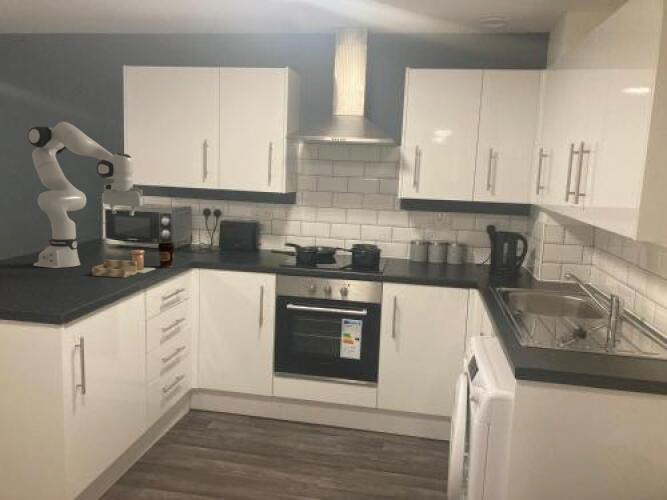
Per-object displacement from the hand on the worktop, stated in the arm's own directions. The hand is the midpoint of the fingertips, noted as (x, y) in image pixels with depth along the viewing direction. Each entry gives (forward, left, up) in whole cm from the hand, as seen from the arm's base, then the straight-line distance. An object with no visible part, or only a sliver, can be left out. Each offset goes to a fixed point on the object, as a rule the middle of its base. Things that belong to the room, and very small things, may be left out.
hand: (122, 214), depth 286 cm
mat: (+7, +2, -28) cm, 29 cm away
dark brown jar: (+15, +16, -28) cm, 36 cm away
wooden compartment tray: (+2, -11, -28) cm, 30 cm away
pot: (+7, +2, -28) cm, 28 cm away
